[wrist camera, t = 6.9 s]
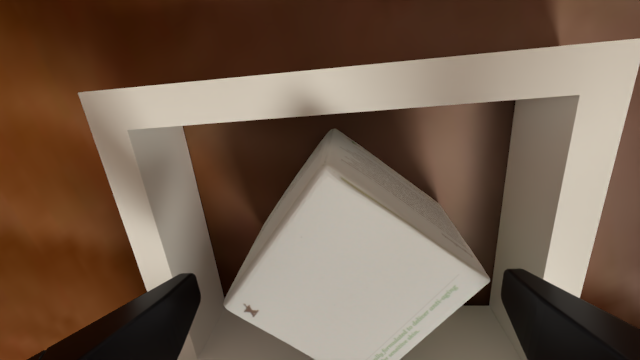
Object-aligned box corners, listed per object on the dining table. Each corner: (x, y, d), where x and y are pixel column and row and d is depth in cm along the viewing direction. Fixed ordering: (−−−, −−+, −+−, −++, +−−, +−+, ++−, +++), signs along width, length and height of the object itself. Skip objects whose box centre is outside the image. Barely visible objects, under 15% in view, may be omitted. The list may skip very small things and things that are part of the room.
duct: (567, 47, 10) (864, 12, 4) (513, 352, 14) (621, 534, 9) (134, 88, 12) (-69, 103, 6) (208, 346, 16) (131, 493, 10)
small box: (361, 290, 14) (367, 397, 9) (259, 226, 13) (212, 307, 9) (445, 203, 12) (503, 282, 8) (331, 122, 11) (319, 156, 7)
